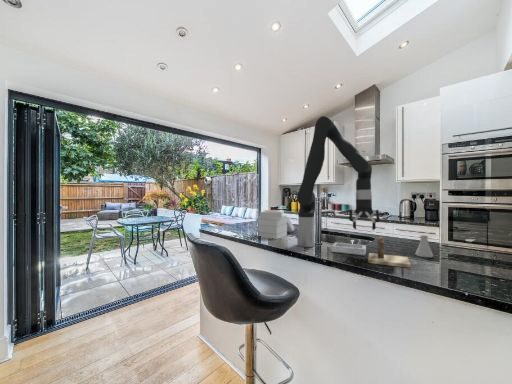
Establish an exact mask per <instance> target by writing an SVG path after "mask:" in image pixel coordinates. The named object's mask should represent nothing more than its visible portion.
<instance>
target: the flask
mask: <svg viewBox="0 0 512 384" xmlns="http://www.w3.org/2000/svg"><path fill="white" fill-rule="evenodd" d="M419 237H420V242H419V245H418V247H417V249H416V251H415V253H414V255H416V256H418V257H421V258H434V253H433V252H432V249H431V247H430V244H429V241H428V240H429V239H428V238H429V236H428V235H426V234H425V235H423V234H421V235H419Z"/></svg>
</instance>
